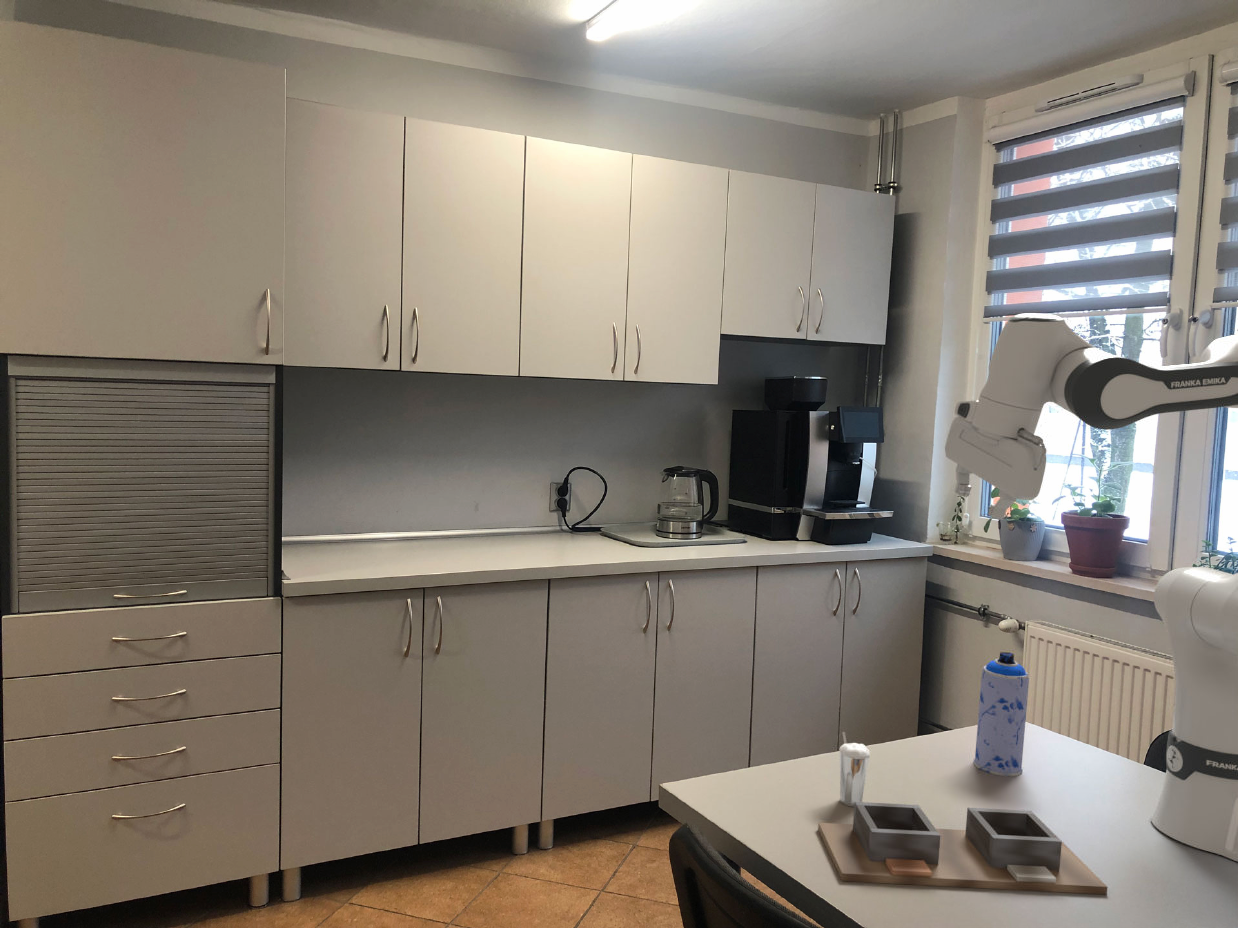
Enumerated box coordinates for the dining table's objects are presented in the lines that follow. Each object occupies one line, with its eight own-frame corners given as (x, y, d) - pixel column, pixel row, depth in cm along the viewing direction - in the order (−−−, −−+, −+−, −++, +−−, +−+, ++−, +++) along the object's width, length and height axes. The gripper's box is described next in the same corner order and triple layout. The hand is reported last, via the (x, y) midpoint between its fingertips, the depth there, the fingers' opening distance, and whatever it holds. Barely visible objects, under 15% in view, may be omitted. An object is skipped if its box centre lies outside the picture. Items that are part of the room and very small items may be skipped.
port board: (1054, 841, 130) (1057, 807, 130) (1106, 894, 116) (1110, 856, 116) (818, 829, 130) (820, 795, 130) (841, 880, 116) (844, 842, 116)
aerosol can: (1005, 757, 162) (1014, 647, 160) (1032, 775, 154) (1041, 660, 152) (964, 757, 160) (973, 646, 159) (989, 776, 153) (999, 659, 151)
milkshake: (851, 792, 143) (855, 730, 143) (872, 806, 138) (877, 743, 138) (826, 795, 142) (831, 732, 141) (847, 810, 137) (851, 745, 136)
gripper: (1067, 443, 127) (1036, 534, 131) (985, 405, 146) (960, 485, 150) (1029, 438, 125) (999, 530, 129) (950, 400, 144) (926, 481, 148)
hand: (977, 505), depth 140 cm, fingers open, 8 cm apart
